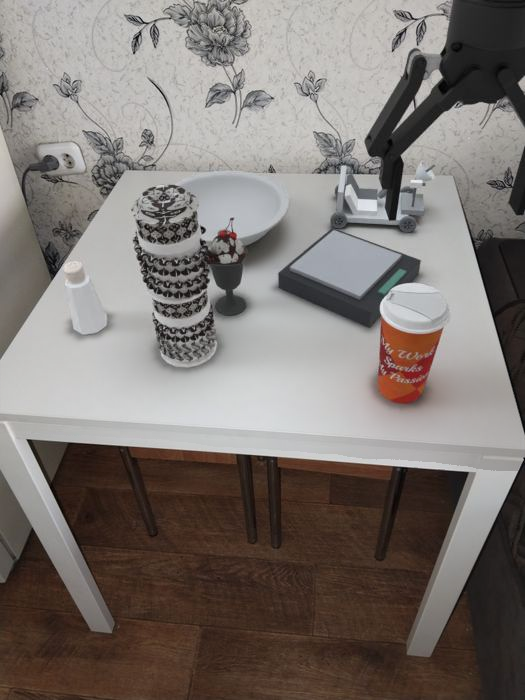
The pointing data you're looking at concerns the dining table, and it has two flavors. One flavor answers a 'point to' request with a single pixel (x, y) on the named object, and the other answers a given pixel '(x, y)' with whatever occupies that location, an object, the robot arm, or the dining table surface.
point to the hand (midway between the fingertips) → (452, 211)
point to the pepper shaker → (83, 300)
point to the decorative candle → (175, 273)
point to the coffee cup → (409, 339)
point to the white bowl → (237, 203)
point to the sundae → (227, 269)
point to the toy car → (379, 201)
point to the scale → (348, 275)
